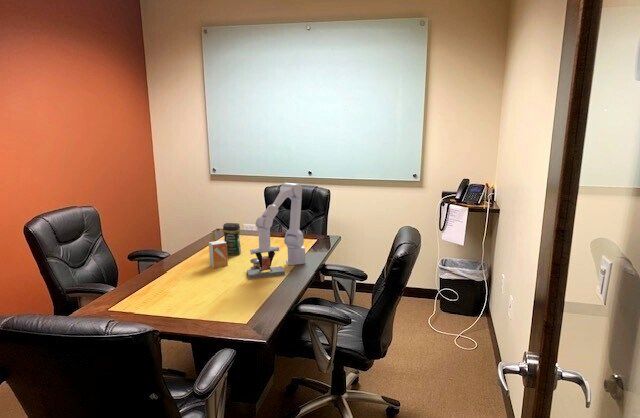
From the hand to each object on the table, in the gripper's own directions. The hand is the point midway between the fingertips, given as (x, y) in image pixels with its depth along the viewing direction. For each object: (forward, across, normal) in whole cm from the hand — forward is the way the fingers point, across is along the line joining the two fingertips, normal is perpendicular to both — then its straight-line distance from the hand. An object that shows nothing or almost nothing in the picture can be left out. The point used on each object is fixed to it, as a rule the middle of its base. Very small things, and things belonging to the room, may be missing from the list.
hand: (265, 266), depth 216 cm
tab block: (+2, 0, 0) cm, 2 cm away
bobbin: (+4, +2, -9) cm, 10 cm away
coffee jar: (+4, +9, -41) cm, 42 cm away
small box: (+4, +20, -23) cm, 31 cm away
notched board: (+4, 0, 0) cm, 4 cm away
